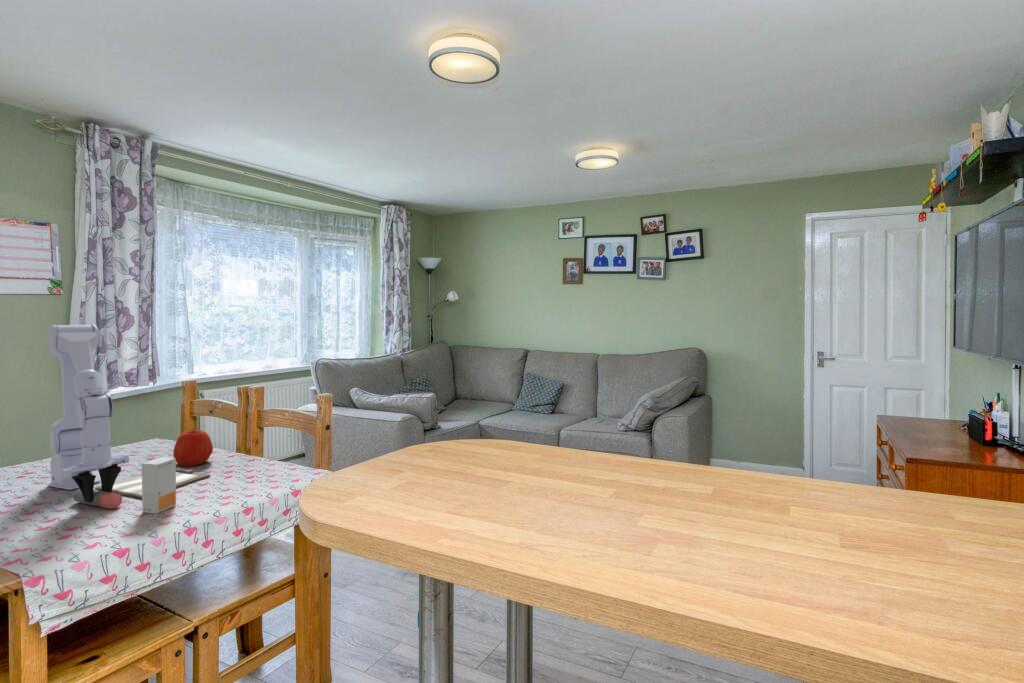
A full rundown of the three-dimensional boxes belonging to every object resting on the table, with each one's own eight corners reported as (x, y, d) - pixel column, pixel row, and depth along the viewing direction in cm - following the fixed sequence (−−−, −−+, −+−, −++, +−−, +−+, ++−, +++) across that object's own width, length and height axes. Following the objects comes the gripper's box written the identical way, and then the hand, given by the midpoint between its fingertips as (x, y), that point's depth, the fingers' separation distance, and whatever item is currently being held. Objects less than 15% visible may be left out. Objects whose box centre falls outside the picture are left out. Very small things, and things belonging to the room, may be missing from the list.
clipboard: (94, 489, 146) (94, 485, 146) (165, 469, 165) (165, 465, 165) (142, 499, 140) (142, 494, 140) (210, 476, 159) (210, 472, 158)
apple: (220, 461, 173) (219, 428, 173) (185, 470, 164) (184, 435, 163) (201, 456, 179) (200, 424, 178) (166, 464, 170) (165, 430, 169)
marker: (74, 504, 137) (68, 493, 135) (88, 495, 140) (82, 483, 138) (110, 512, 132) (104, 500, 131) (124, 502, 135) (118, 490, 134)
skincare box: (157, 514, 130) (155, 464, 129) (141, 512, 131) (140, 463, 130) (177, 505, 136) (176, 457, 135) (162, 503, 137) (161, 456, 136)
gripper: (74, 453, 126) (76, 511, 127) (136, 439, 140) (138, 491, 141) (54, 450, 128) (56, 506, 129) (117, 436, 142) (119, 488, 143)
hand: (97, 498), depth 135 cm, fingers closed on marker, 4 cm apart
